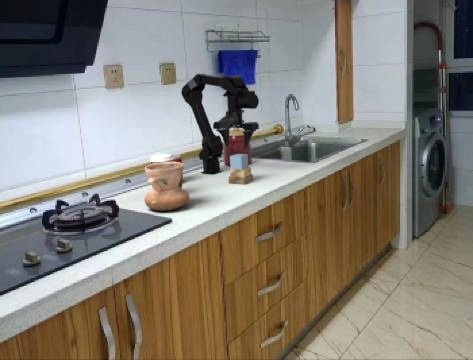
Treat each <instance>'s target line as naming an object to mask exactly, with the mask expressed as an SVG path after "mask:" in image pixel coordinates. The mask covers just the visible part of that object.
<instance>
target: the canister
mask: <svg viewBox="0 0 473 360" xmlns="http://www.w3.org/2000/svg"><path fill="white" fill-rule="evenodd" d="M243 131H245V130H244V129H240V128H232V130H230V129H229V144H228V146H226V145H225V142H224V140H223V139H222V142H223V163H224V166H227V167H231V166H230V156H232V155H235V154H248V166H249V165H251V164H252V162H253V161H252V160H253V159H252V157H253V156H252V144H251V141H249V144H248V146H247V148H245V144H244V133H243Z"/></svg>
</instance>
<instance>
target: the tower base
mask: <svg viewBox="0 0 473 360" xmlns="http://www.w3.org/2000/svg"><path fill="white" fill-rule="evenodd" d="M227 178H228V184H231V185H241V186H244V185H247V184H249V183H251V182H253V181H254V174H252V173H251V175H249V176H247V177H245V178H240V177H230V176H228V177H227Z"/></svg>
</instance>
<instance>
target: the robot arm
mask: <svg viewBox="0 0 473 360" xmlns="http://www.w3.org/2000/svg"><path fill="white" fill-rule="evenodd" d="M206 86H214V87H219V88H221V89H222V90H224V91H225V93H223V94H222V96H223V97H224V98H225V97H226V98H227V99H226V101H227V110H226V111H225V116H223V117H222V118H221V119H219V120H217V121H214V122H213V125H212V126H211V123H210V121H209V118H208V115H207V113H206V110H205V107H204V106H203V98H204V96H203V92H204V90H205V88H206ZM181 96H182V99H183V100H184V101H185V103H186V104H188V105H189V106H190V107H191V108H190V109H191V111H192V113H193V116H194V118H195V121H196V124H197V126H198V129H199V131H200V134H201V137H202V140H201V148H202V149H201V150H200V152H199V153H198V159H199V160H201V161H202V168H203V169H202V170H203V171H201V172H200V173H201V174H208V175H215V174H217V173H221V172H222V169H221V165H220V164H221V163H220V160H219V159H220V158H221V157H222V154H223V152H224V148H223V146H224V142H225V145H226V146H228V144H229V131H230V129H231V128H232V129H233V128H239V129H242V130H245V131H243V133H244V144H245V148H247V146H248V144H249V141H250V140H251V139H252V136H253V134H254V132H256V131H257V130H259V129H260V126H259V123H258V122H257V121H247V122H245V120H244V119H243V113H245V110H244V109H248V110H249V109H250V110H251V109H252V110H255V109H257V107H258V106H259V104H260V100H259V97H258V95H257V94H256V91H255V90H250V89H248V87H247V85H246V82H245V81H244V80H243V77H242V76H241V75H229V76H221V75H220V76H219V75H213V74H207V73H197V74H195V75H194V76H193V78H191V79H190V80H189V81H187V82H186V83H185V85H183V86H182V89H181ZM212 128H213V129H212ZM213 130H215V131H216V132H218V133H219V134H220V135H221V136H220V135H216V134H215V133H214V131H213ZM221 137H222V138H221ZM223 140H224V141H223ZM250 142H251V141H250Z"/></svg>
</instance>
